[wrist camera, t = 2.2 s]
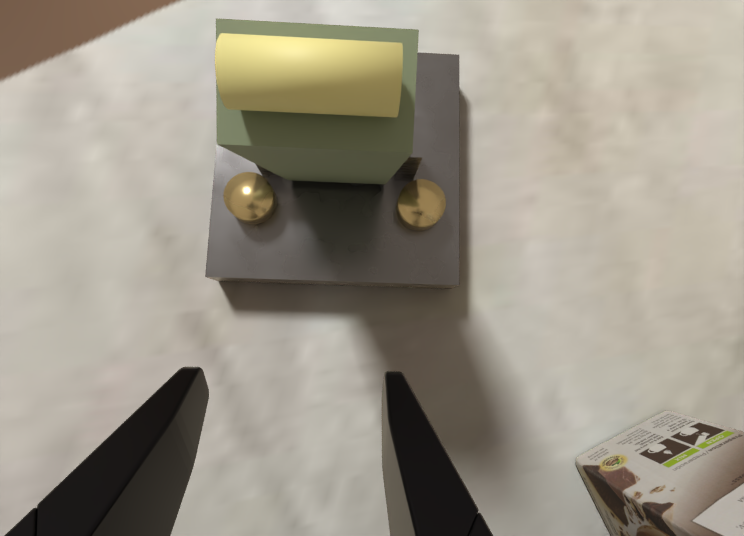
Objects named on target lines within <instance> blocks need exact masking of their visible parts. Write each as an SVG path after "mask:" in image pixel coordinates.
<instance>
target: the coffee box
mask: <svg viewBox="0 0 744 536" xmlns="http://www.w3.org/2000/svg"><path fill="white" fill-rule="evenodd" d="M576 466H577V468H578V470H579V472H580V474H581V476H582V478H583V480H584V482H585V484H586V486H587V488H588V490H589V492H590V494H591V496H592V498H593V500H594V502H595V504H596V506H597V508H598V510H599V512H600V514H601V516H602V518H603V520H604V522H605V524H606V526H607V528H608V530H609V532H610V534H611V536H744V432H742V431H739V430H736V429H732V428H728V427H724V426H721V425H717V424H714V423H710V422H707V421H703V420H700V419H696V418H693V417H689V416H686V415H682V414H679V413H676V412H672V411H664V412H662V413H660V414H658V415H656V416H654V417H652V418H650V419H648V420H646V421H644V422H642V423H640V424H638V425H636V426H634V427H632V428H631V429H629V430H627V431H625V432H623V433H621V434H619V435H617V436H615V437H613V438H611V439H610V440H608V441H606V442H604V443H602V444H600V445H598V446H596V447H594V448H592V449H590V450H588V451H587V452H585V453H583V454H581V455H580V456H578V457H577V458H576Z"/></svg>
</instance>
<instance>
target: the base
mask: <svg viewBox="0 0 744 536" xmlns="http://www.w3.org/2000/svg"><path fill="white" fill-rule="evenodd" d="M205 277H207V278H210V279H213V280H216V281H232V282H262V283H293V284H323V285H354V286H384V287H415V288H445V289H451V288H453V287H456V286H459V55H452V54H433V53H417V73H416V93H415V114H414V134H413V153H412V154H411V155H410V156H409V158H408V159H407V160H406V161H405V162H404V163H403V165H402V166H401V167H400V168H399V169H398V170H397V172H396V173H395V174H394V175H393V176H392V177H391V179H390V180H389V181H388V182H387V183H386V184H364V183H340V182H316V181H292V180H287V179H285V178H283V177H281V176H279V175H277V174H275V173H273V172H271V171H269V170H267V169H265V168H263V167H261V166H259V165H257V164H255V163H253V162H251V161H249V160H247V159H245V158H243V157H241V156H239V155H237V154H235V153H233V152H231V151H229V150H227V149H225V148H223V147H221V146H220V145H218V144H217V145H216V157H215V169H214V180H213V192H212V204H211V216H210V228H209V239H208V251H207V263H206V275H205Z"/></svg>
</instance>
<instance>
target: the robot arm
mask: <svg viewBox="0 0 744 536" xmlns="http://www.w3.org/2000/svg"><path fill="white" fill-rule="evenodd" d="M208 399H209V389H208V386H207V382H206V379H205V375H204V372H203V370H202V369H201V368H200V367H183V368H181V369H179V370H178V371H177V372H176V373H175V374H174V375H173V376H172V377H171V378H170V379H169V380H168V381H167V382H166V383H165V384H164V385H163V386H162V387H160V388H159V389H158V390H157V391H156V392H155V393H154V394H153V395H152V396H151V397H150V398H149V399H148V400H147V401H146V402H145V403H144V404H143V405H142V406H141V407H139V408H138V409H137V410H136V411H135V412H134V413H133V414H132V415H131V416H130V417H129V418H128V419H127V420H126V421H125V422H124V423H123V424H122V425H121V426H120V427H118V428H117V429H116V430H115V431H114V432H113V433H112V434H111V435H110V436H109V437H108V438H107V439H106V440H105V441H104V442H103V443H102V444H101V445H100V446H99V447H97V448H96V449H95V450H94V451H93V452H92V453H91V454H90V455H89V456H88V457H87V458H86V459H85V460H84V461H83V462H82V463H81V464H80V465H79V466H78V467H76V468H75V469H74V470H73V471H72V472H71V473H70V474H69V475H68V476H67V477H66V478H65V479H64V480H63V481H62V482H61V483H60V484H59V485H58V486H57V487H55V488H54V489H53V490H52V491H51V492H50V493H49V494H48V495H47V496H46V497H45V498H44V499H43V500H42V501H41V502H40V503H39V504H38V506H37V508H33V509H32V510H31V511H30V512H29V513H28V514H27V515H26V516H25V517H24V518H23V519H22V520H21V521H20V522H19V523H17V524H16V525H15V526H14V527H13V528H12V529H11V530H10V531H9V532H8V533H7V534H6V535H5V536H170V535H171V532H172V529H173V526H174V523H175V520H176V517H177V514H178V511H179V508H180V505H181V502H182V499H183V496H184V493H185V490H186V488H187V485H188V482H189V479H190V476H191V472H192V469H193V466H194V462H195V458H196V454H197V449H198V445H199V440H200V436H201V431H202V426H203V422H204V417H205V413H206V408H207V404H208ZM382 468H383V479H384V487H385V495H386V503H387V512H388V520H389V528H390V536H493V534H492V533H491V531H490V529H489V527H488V525H487V524H486V522H485V520H484V518H483V516H482V515H481V513H478V508H477V506H476V504H475V502H474V501H473V499H472V497H471V495H470V493H469V491H468V490H467V488H466V486H465V484H464V482H463V481H462V479H461V477H460V475H459V473H458V472H457V470H456V468H455V466H454V464H453V463H452V461H451V459H450V457H449V455H448V454H447V452H446V450H445V448H444V446H443V445H442V443H441V441H440V439H439V437H438V435H437V434H436V432H435V430H434V428H433V426H432V425H431V423H430V421H429V419H428V417H427V416H426V414H425V412H424V410H423V408H422V407H421V405H420V403H419V401H418V399H417V398H416V396H415V394H414V392H413V390H412V388H411V387H410V385H409V383H408V381H407V379H406V378H405V376H404V374H403V373H401V372H385V374H384V380H383V390H382ZM477 513H478V514H477Z"/></svg>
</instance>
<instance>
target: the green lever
mask: <svg viewBox="0 0 744 536" xmlns="http://www.w3.org/2000/svg"><path fill="white" fill-rule="evenodd" d="M418 32H419V30H414V29H396V28H378V27H359V26H341V25H323V24H305V23H287V22H269V21H251V20H233V19H216V50H215V70H216V92H217V144H218V145H220V146H221V147H223V148H225V149H227V150H229V151H231V152H233V153H235V154H237V155H239V156H241V157H243V158H245V159H247V160H249V161H251V162H253V163H255V164H257V165H259V166H261V167H263V168H265V169H267V170H269V171H271V172H273V173H275V174H277V175H279V176H281V177H283V178H285V179H287V180H292V181H316V182H340V183H364V184H386V183H387V182H388V181H389V180H390V179H391V177H392V176H393V175H394V174H395V173H396V172H397V170H398V169H399V168H400V167H401V166H402V165H403V163H404V162H405V161H406V160H407V159H408V158H409V156H410V155H411V154H412V153H413V134H414V114H415V93H416V73H417V52H418Z"/></svg>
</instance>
